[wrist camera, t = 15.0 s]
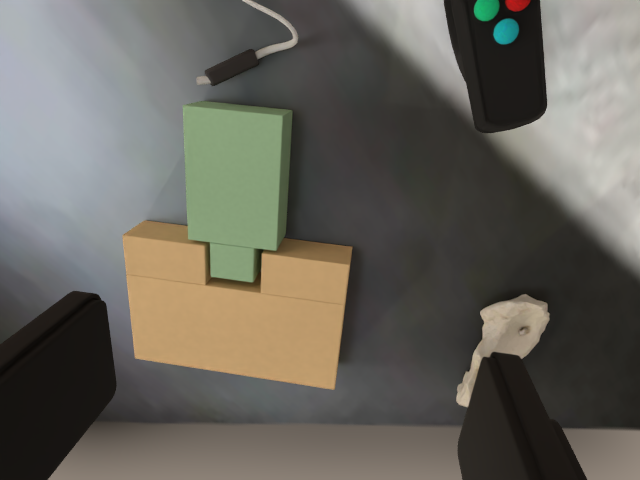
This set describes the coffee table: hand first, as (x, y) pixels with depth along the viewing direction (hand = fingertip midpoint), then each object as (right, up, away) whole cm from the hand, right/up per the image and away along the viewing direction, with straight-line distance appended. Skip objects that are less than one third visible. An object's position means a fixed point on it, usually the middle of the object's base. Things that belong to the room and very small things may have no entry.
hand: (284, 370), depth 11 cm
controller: (+11, +18, +18) cm, 27 cm away
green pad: (-5, +7, +24) cm, 26 cm away
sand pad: (-6, -2, +28) cm, 29 cm away
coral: (+16, -5, +27) cm, 32 cm away
